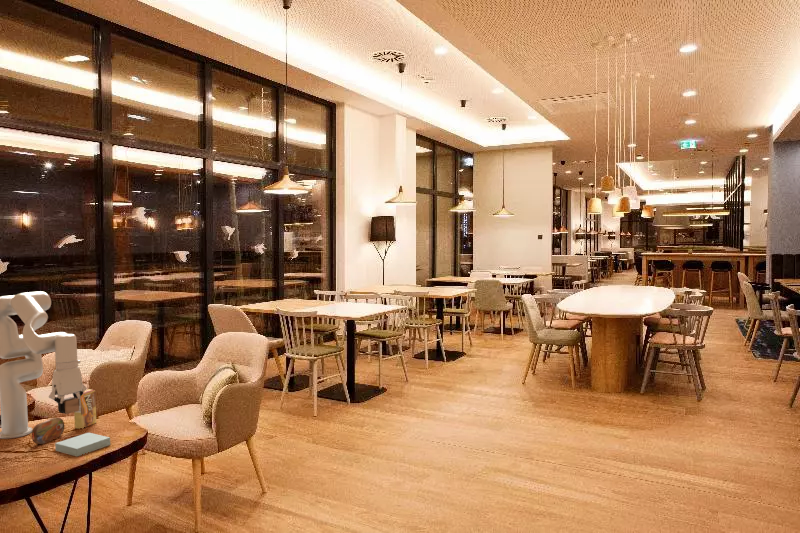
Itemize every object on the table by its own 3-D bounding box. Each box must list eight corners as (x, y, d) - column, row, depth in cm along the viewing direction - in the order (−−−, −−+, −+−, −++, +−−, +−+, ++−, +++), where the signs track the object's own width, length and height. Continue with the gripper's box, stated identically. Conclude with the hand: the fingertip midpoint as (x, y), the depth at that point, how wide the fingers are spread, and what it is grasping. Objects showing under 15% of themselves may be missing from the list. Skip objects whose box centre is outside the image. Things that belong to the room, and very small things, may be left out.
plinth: (55, 450, 230) (55, 443, 230) (89, 439, 242) (88, 432, 242) (77, 456, 223) (76, 448, 223) (110, 444, 236) (110, 437, 235)
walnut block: (59, 412, 229) (58, 400, 229) (71, 409, 234) (71, 396, 234) (66, 414, 227) (65, 401, 227) (79, 410, 231) (78, 398, 231)
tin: (37, 447, 235) (36, 426, 234) (30, 446, 235) (29, 426, 235) (65, 434, 249) (64, 415, 249) (59, 434, 250) (58, 414, 250)
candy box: (89, 422, 266) (87, 389, 265) (97, 422, 265) (95, 389, 264) (74, 428, 257) (72, 394, 256) (82, 429, 256) (80, 394, 255)
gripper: (82, 360, 239) (84, 404, 240) (39, 369, 224) (41, 415, 225) (93, 362, 235) (95, 406, 236) (50, 370, 220) (52, 418, 221)
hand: (69, 410), depth 230 cm, fingers closed on walnut block, 4 cm apart
